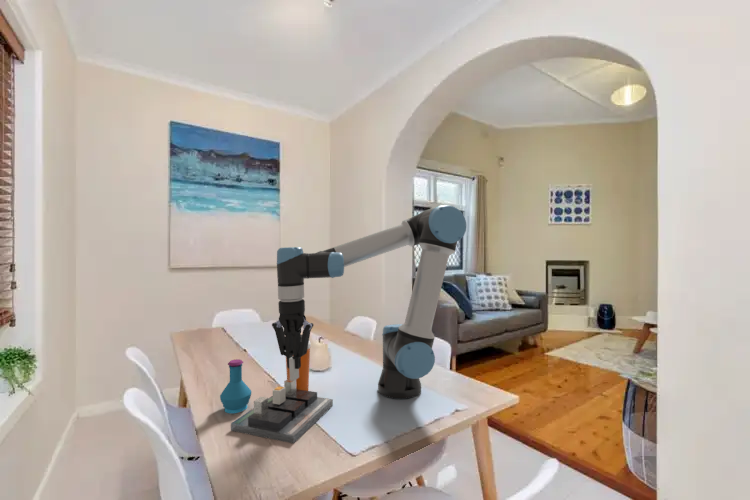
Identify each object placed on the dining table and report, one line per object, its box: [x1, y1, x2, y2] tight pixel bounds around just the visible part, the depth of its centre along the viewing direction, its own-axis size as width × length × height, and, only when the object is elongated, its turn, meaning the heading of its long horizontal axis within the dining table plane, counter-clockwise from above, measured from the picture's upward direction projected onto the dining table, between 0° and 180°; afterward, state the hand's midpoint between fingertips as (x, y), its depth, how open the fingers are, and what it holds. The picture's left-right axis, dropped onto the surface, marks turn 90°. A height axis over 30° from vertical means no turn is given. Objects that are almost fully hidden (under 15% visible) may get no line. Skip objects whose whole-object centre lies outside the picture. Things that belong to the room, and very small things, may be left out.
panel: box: [230, 378, 334, 444], centre depth 107 cm, size 20×23×8 cm
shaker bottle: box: [285, 334, 312, 391], centre depth 125 cm, size 9×9×20 cm
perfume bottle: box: [219, 358, 252, 414], centre depth 113 cm, size 9×9×15 cm
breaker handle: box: [272, 385, 286, 405], centre depth 108 cm, size 2×3×4 cm
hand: (294, 378), depth 106 cm, fingers closed
